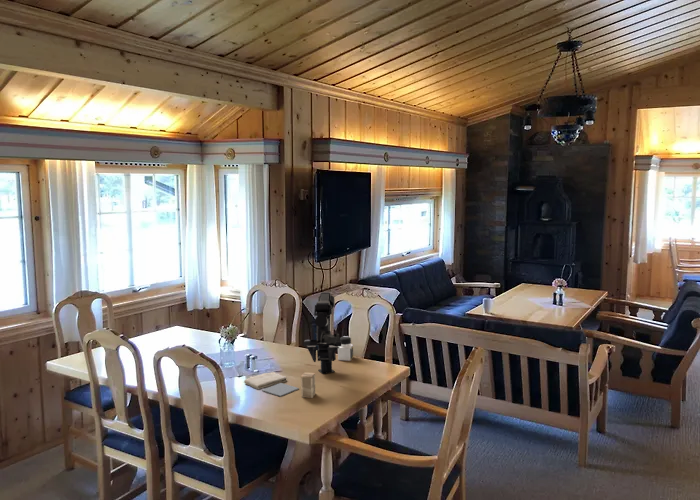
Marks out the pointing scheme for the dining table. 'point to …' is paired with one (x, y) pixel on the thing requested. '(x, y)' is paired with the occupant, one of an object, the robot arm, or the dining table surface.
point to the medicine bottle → (345, 349)
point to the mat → (280, 389)
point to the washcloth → (265, 380)
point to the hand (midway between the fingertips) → (322, 361)
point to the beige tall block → (308, 385)
